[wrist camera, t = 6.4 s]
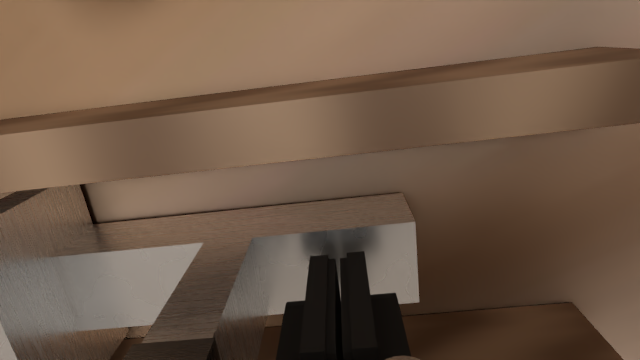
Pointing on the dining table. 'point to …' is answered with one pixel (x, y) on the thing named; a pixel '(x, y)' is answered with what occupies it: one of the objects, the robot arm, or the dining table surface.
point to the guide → (346, 139)
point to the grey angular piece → (179, 273)
